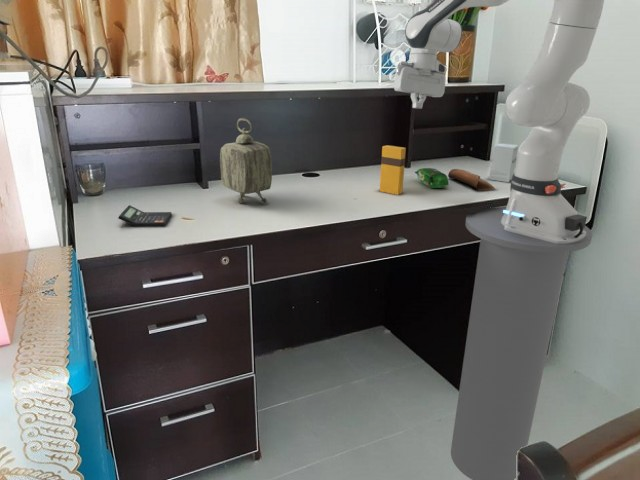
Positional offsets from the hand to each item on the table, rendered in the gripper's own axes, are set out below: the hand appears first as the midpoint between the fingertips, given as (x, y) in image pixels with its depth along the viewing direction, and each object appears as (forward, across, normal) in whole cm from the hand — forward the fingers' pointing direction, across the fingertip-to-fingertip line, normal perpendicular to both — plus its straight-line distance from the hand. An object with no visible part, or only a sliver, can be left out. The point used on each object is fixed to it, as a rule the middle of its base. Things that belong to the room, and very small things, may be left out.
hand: (417, 108), depth 168 cm
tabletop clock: (+33, -55, +12) cm, 66 cm away
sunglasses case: (+24, +23, -7) cm, 34 cm away
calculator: (+38, -86, +9) cm, 94 cm away
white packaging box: (+22, +39, -8) cm, 45 cm away
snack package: (+26, +10, -1) cm, 27 cm away
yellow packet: (+28, -9, -1) cm, 29 cm away
